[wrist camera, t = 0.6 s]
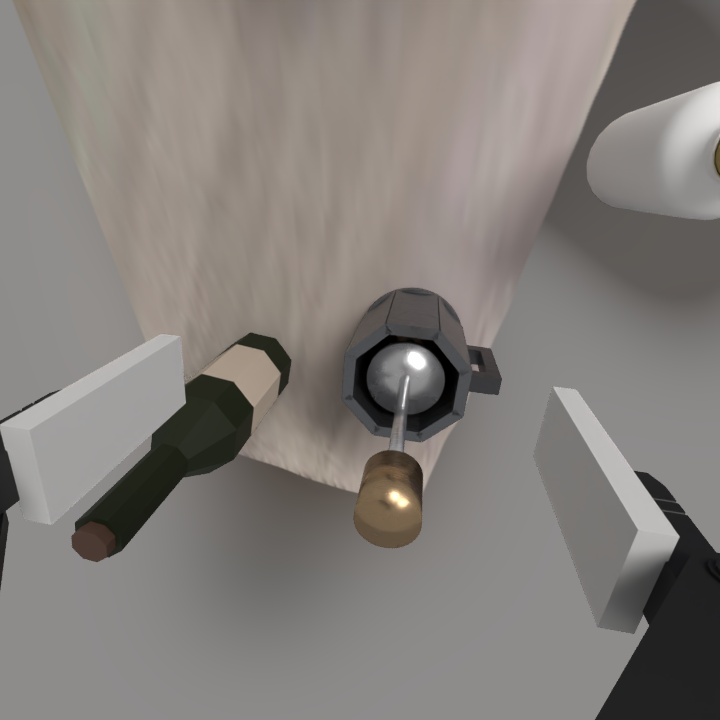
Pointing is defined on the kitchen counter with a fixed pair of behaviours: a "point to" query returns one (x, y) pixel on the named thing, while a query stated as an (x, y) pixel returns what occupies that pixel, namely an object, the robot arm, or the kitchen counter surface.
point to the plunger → (397, 444)
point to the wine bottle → (189, 441)
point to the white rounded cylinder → (662, 157)
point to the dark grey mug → (432, 329)
